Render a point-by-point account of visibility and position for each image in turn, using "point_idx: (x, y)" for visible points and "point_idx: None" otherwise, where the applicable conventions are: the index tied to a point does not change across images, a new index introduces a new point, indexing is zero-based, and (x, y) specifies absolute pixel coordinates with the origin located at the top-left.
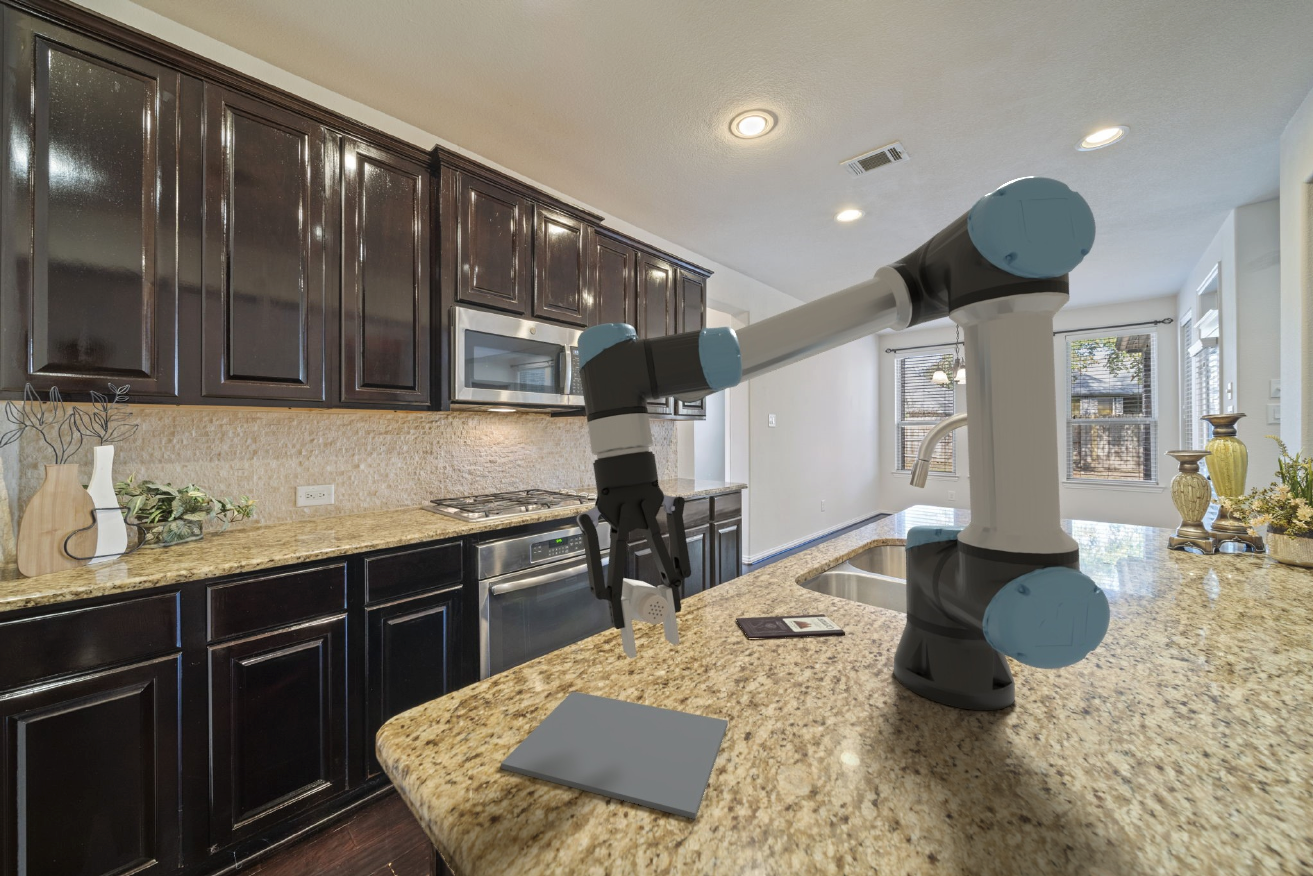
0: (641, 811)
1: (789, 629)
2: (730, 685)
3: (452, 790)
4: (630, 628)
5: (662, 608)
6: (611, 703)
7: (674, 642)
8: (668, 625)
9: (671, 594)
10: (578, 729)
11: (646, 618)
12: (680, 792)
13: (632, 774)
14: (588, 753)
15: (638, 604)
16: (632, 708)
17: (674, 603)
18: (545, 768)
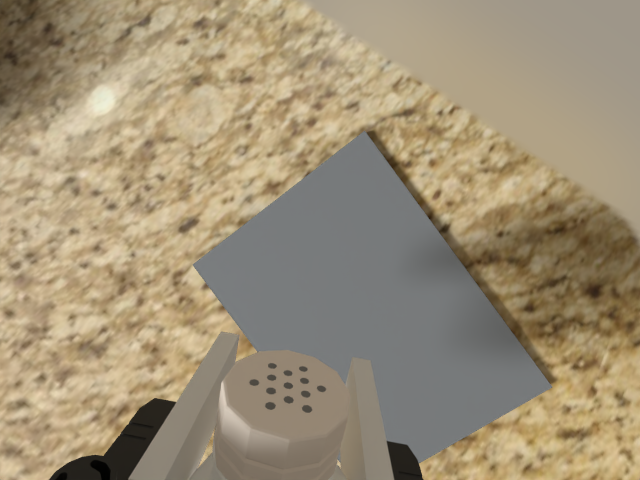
0: (416, 187)
1: None
2: (118, 347)
3: (626, 380)
4: (368, 417)
5: (257, 379)
6: None
7: (235, 338)
8: (220, 387)
9: (150, 453)
10: (409, 389)
11: (338, 380)
12: (357, 174)
13: (394, 246)
14: (425, 326)
15: (332, 473)
16: None
17: (155, 430)
18: (498, 335)
